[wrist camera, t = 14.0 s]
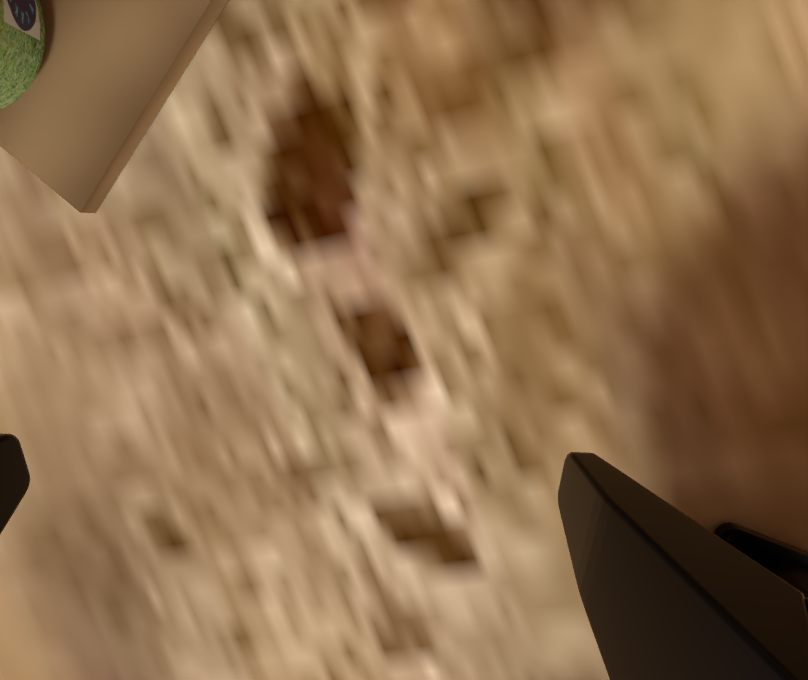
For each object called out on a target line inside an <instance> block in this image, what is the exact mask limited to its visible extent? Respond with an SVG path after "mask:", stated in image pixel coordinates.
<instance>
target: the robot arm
mask: <svg viewBox="0 0 808 680" xmlns="http://www.w3.org/2000/svg"><path fill="white" fill-rule="evenodd" d="M29 482H30V474H29V471H28V467H27V464H26V461H25V458H24V454H23V451H22V448H21V444H20V442H19V440H18V439H17V438H16V437H15V436H14V435H12V434H0V534H1V532H2V531H3V529H4V527H5V526H6V524H7V523H8V521H9V519H10V518H11V516H12V514H13V513H14V511H15V509H16V508H17V506H18V505H19V503H20V501H21V500H22V498H23V496H24V495H25V493H26V491H27V489H28V486H29ZM558 504H559V509H560V514H561V518H562V522H563V526H564V531H565V535H566V539H567V543H568V548H569V552H570V556H571V560H572V564H573V569H574V573H575V577H576V581H577V585H578V589H579V592H580V596H581V599H582V602H583V605H584V608H585V611H586V613H587V616H588V619H589V622H590V625H591V628H592V630H593V633H594V636H595V639H596V642H597V644H598V647H599V650H600V653H601V656H602V658H603V661H604V664H605V667H606V670H607V673H608V675H609V678H610V680H808V552H806V551H804V550H801V549H799V548H796V547H793V546H791V545H788V544H786V543H783V542H780V541H778V540H775V539H773V538H770V537H768V536H765V535H762V534H760V533H757V532H755V531H752V530H749V529H747V528H744V527H742V526H739V525H737V524H733V523H724V524H722V525H720V526H719V527H718V528H717V529H716V530H715V532H714V533H712V532H711V531H709V530H708V529H706V528H705V527H703V526H702V525H700V524H699V523H697V522H696V521H694V520H693V519H691V518H690V517H688V516H687V515H685V514H684V513H682V512H681V511H679V510H678V509H676V508H675V507H673V506H672V505H670V504H669V503H667V502H666V501H664V500H663V499H661V498H660V497H658V496H657V495H655V494H654V493H652V492H651V491H649V490H648V489H646V488H645V487H643V486H642V485H640V484H639V483H637V482H636V481H634V480H633V479H631V478H630V477H628V476H627V475H625V474H624V473H622V472H621V471H619V470H618V469H616V468H615V467H613V466H612V465H610V464H609V463H607V462H606V461H604V460H603V459H601V458H600V457H598V456H597V455H595V454H593V453H580V452H571V453H569V454H568V455H567V457H566V459H565V462H564V467H563V472H562V476H561V481H560V486H559V491H558ZM731 535H735V537H734V538H733V539H732V540H729V541H728V540H727V538H728V537H729V536H731Z"/></svg>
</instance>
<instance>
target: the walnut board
mask: <svg viewBox="0 0 808 680" xmlns="http://www.w3.org/2000/svg"><path fill="white" fill-rule="evenodd" d="M39 1H40V5H41V8H42V12H43V18H44V24H45V47H44V53H43V58H42V62H41V65H40V68H39V70H38V73H37V75H36V77H35V79H34V80H33V82H32V83H31V85H30V87H29V88H28V89H27V90H26V91H25V92H24V93H23V94H22V95H21V96H20V98H19V99H17V100H16V101H14V102H13V103H11V104H10V105H8V106H7V107H5V108H3V109H0V146H1V147H2V148H3V149H5V150H6V151H7V152H8V153H9V154H11V155H12V156H13V157H14V158H15V159H17V160H18V161H19V162H20V163H21V164H23V165H24V166H25V167H26V168H27V169H29V170H30V171H31V172H32V173H33V174H35V175H36V176H37V177H38V178H40V179H41V180H42V181H43V182H44V183H46V184H47V185H48V186H49V187H50V188H52V189H53V190H54V191H55V192H56V193H58V194H59V195H60V196H61V197H62V198H64V199H65V200H66V201H67V202H68V203H70V204H71V205H72V206H73V207H74V208H76V209H77V210H78V211H79V212H83V213H96V211H97V210H98V208H99V207H100V205H101V203H102V202H103V200H104V199H105V197H106V195H107V194H108V192H109V191H110V189H111V187H112V186H113V184H114V183H115V181H116V179H117V178H118V176H119V175H120V173H121V171H122V170H123V168H124V167H125V165H126V164H127V162H128V160H129V159H130V157H131V156H132V154H133V152H134V151H135V149H136V148H137V146H138V144H139V143H140V141H141V140H142V138H143V136H144V135H145V133H146V132H147V130H148V128H149V127H150V125H151V124H152V122H153V120H154V119H155V117H156V116H157V114H158V112H159V111H160V109H161V108H162V106H163V104H164V103H165V101H166V100H167V98H168V97H169V95H170V93H171V92H172V90H173V89H174V87H175V85H176V84H177V82H178V81H179V79H180V77H181V76H182V74H183V73H184V71H185V69H186V68H187V66H188V65H189V63H190V61H191V60H192V58H193V57H194V55H195V53H196V52H197V50H198V49H199V47H200V45H201V44H202V42H203V41H204V39H205V37H206V36H207V34H208V33H209V31H210V30H211V28H212V26H213V25H214V23H215V22H216V20H217V18H218V17H219V15H220V14H221V12H222V10H223V9H224V7H225V6H226V4H227V2H228V1H229V0H39Z"/></svg>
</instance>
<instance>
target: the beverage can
mask: <svg viewBox="0 0 808 680" xmlns="http://www.w3.org/2000/svg"><path fill="white" fill-rule="evenodd" d="M44 47H45V24H44V18H43V12H42V8H41V5H40V1H39V0H0V109H3V108H5V107H7V106H8V105H10V104H11V103H13V102H14V101H16V100H17V99H19V98H20V96H21V95H22V94H23V93H24V92H25V91H26V90H27V89H28V88H29V87H30V85H31V83H32V82H33V80H34V79H35V77H36V75H37V73H38V70H39V68H40V65H41V62H42V58H43V53H44Z"/></svg>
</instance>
